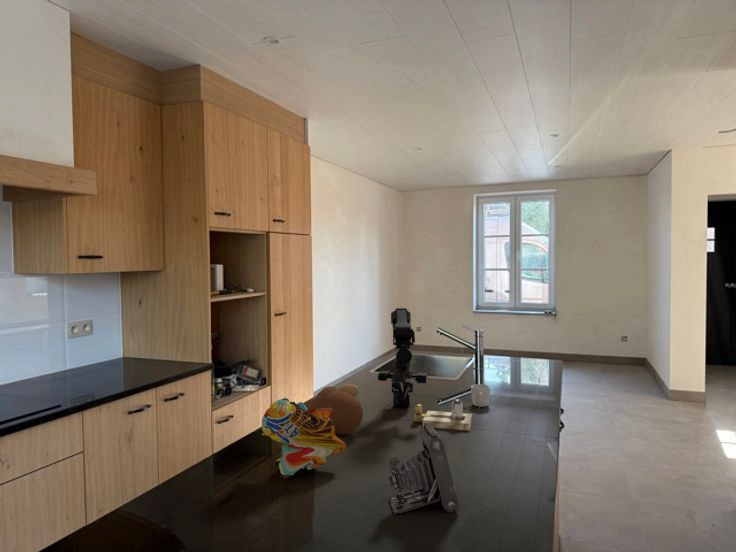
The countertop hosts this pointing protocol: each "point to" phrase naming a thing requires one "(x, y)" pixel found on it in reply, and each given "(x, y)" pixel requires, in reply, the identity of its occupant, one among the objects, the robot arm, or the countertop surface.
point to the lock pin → (419, 413)
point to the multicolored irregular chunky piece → (301, 435)
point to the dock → (448, 421)
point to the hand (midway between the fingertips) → (403, 399)
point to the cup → (480, 395)
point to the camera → (424, 476)
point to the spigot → (457, 409)
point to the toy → (340, 407)
